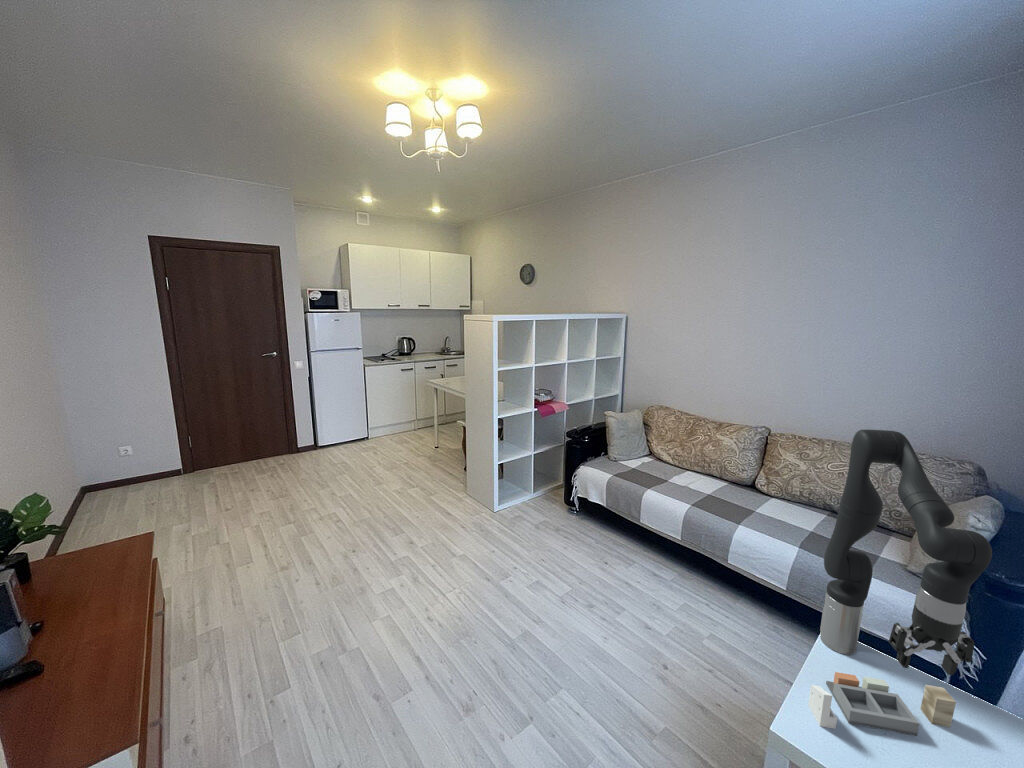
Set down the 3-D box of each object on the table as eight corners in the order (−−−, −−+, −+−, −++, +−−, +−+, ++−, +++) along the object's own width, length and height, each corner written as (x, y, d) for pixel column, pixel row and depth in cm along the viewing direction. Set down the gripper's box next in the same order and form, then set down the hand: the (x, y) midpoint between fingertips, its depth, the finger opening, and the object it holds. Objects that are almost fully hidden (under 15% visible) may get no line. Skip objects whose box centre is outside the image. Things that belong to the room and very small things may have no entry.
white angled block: (830, 735, 100) (824, 694, 103) (810, 717, 109) (805, 680, 112) (846, 738, 99) (840, 697, 102) (825, 720, 108) (819, 682, 111)
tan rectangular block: (920, 709, 108) (925, 684, 107) (938, 712, 107) (943, 687, 106) (931, 723, 104) (937, 698, 103) (950, 727, 103) (956, 702, 102)
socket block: (825, 683, 116) (828, 669, 115) (886, 694, 112) (889, 679, 111) (848, 723, 105) (851, 707, 104) (916, 736, 101) (920, 720, 100)
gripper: (963, 602, 91) (948, 659, 94) (889, 593, 94) (878, 649, 98) (993, 628, 84) (976, 689, 87) (912, 618, 87) (899, 677, 90)
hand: (924, 668), depth 92 cm, fingers open, 8 cm apart
